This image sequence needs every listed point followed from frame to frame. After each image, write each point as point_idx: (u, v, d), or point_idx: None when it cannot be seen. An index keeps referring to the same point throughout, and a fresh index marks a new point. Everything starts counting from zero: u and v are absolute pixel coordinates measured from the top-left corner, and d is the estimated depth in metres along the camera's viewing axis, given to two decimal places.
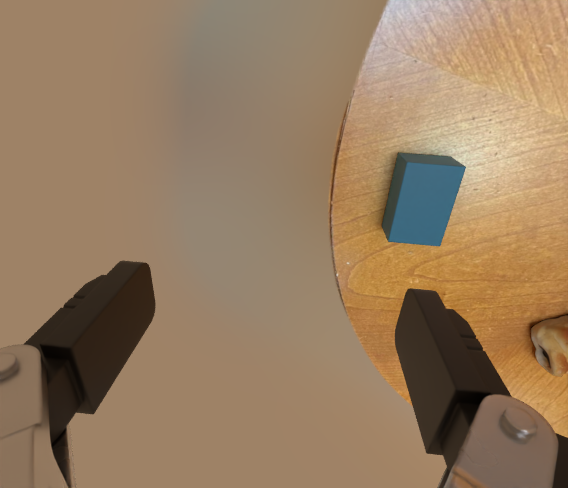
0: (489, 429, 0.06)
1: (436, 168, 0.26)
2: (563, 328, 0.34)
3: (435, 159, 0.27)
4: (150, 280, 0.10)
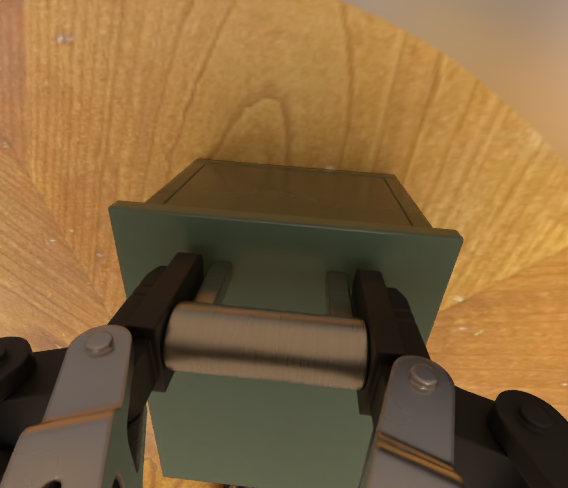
0: (401, 389, 0.06)
1: None
2: None
3: None
4: (202, 271, 0.11)
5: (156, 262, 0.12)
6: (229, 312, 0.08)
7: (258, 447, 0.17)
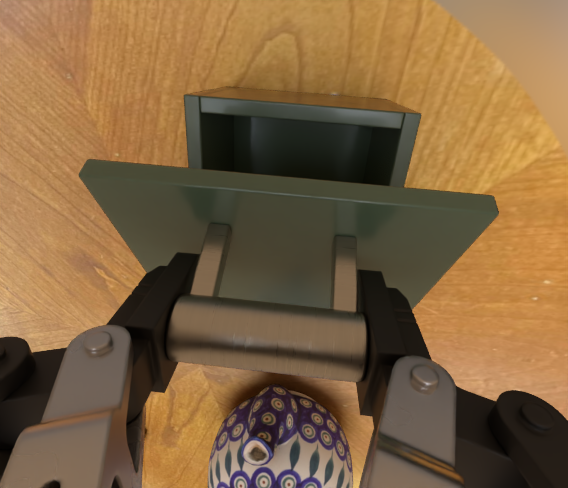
0: (402, 389, 0.06)
1: None
2: None
3: None
4: None
5: (149, 221, 0.11)
6: (228, 320, 0.08)
7: None
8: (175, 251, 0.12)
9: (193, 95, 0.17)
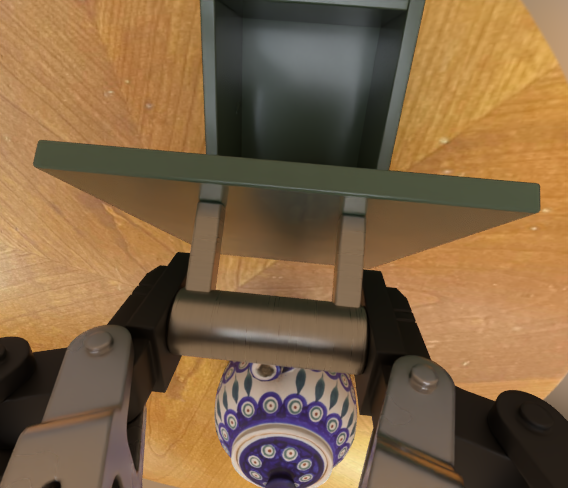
0: (401, 389, 0.06)
1: None
2: None
3: None
4: None
5: (131, 196, 0.10)
6: (226, 328, 0.08)
7: (279, 253, 0.20)
8: (167, 212, 0.11)
9: None
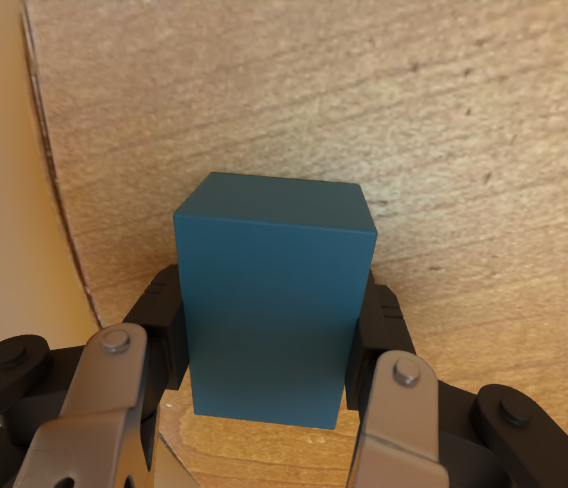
0: (386, 384, 0.06)
1: (277, 235, 0.07)
2: None
3: (296, 197, 0.09)
4: None
5: None
6: None
7: None
8: None
9: None
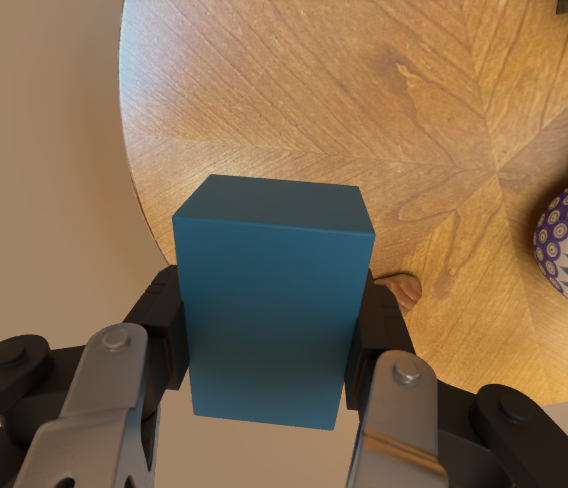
0: (385, 384, 0.06)
1: (275, 237, 0.07)
2: None
3: (295, 199, 0.09)
4: None
5: None
6: None
7: None
8: None
9: None
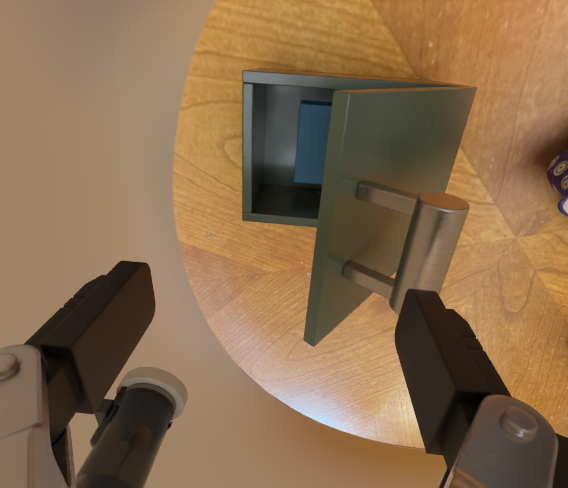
0: (489, 429, 0.06)
1: (327, 109, 0.29)
2: None
3: (330, 103, 0.30)
4: (150, 280, 0.10)
5: (339, 307, 0.17)
6: (409, 288, 0.13)
7: (431, 189, 0.23)
8: (357, 286, 0.18)
9: (242, 215, 0.29)
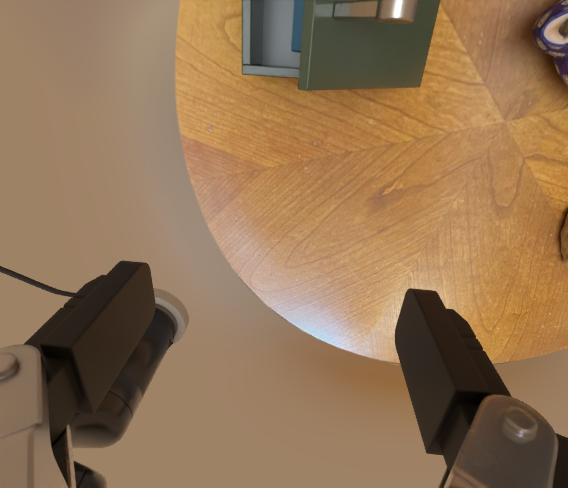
0: (489, 429, 0.06)
1: None
2: (567, 257, 0.44)
3: None
4: (150, 280, 0.10)
5: (330, 61, 0.19)
6: None
7: (419, 6, 0.24)
8: (348, 55, 0.20)
9: (242, 68, 0.30)
